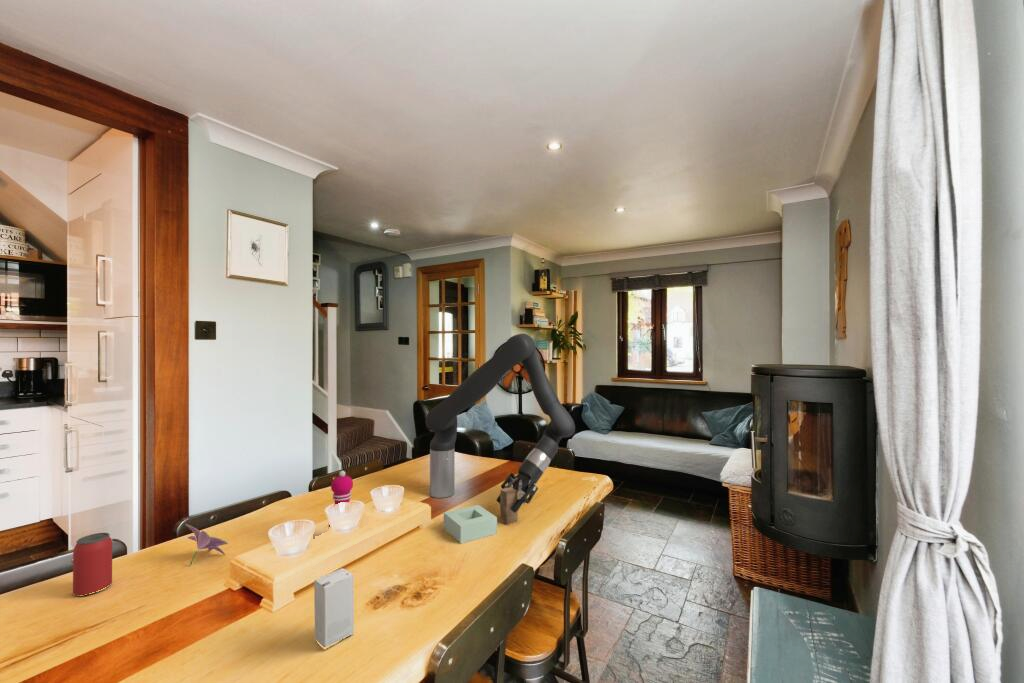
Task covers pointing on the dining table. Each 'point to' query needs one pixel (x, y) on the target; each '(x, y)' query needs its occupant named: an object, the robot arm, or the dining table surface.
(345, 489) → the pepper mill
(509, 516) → the peg
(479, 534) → the socket
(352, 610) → the skincare box
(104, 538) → the beer can
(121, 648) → the dining table surface
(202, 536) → the lily
